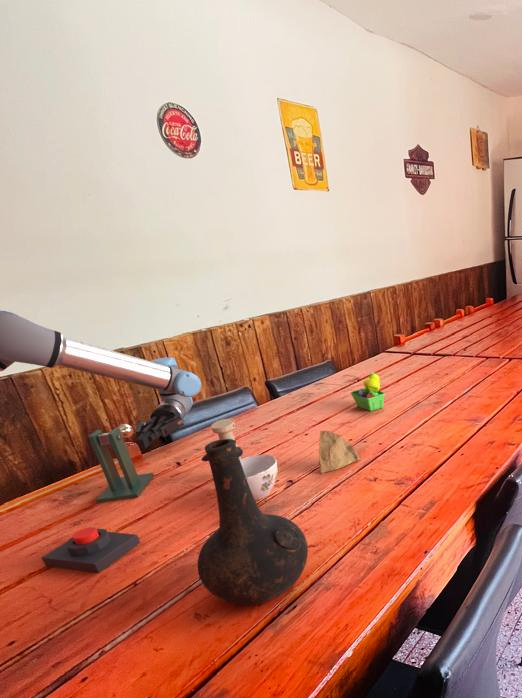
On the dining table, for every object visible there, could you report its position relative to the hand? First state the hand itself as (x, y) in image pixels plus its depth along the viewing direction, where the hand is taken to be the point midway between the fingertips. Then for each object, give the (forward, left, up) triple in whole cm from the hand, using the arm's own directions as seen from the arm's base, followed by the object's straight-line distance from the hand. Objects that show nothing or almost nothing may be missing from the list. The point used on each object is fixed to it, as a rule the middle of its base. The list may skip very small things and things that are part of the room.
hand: (141, 444), depth 140 cm
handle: (+32, -4, -6) cm, 33 cm away
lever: (+5, -10, +5) cm, 12 cm away
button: (+24, -39, -2) cm, 46 cm away
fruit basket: (+45, +51, -6) cm, 68 cm away
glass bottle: (+65, -42, -6) cm, 77 cm away
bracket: (+7, -14, -6) cm, 17 cm away
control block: (+24, -39, -6) cm, 46 cm away
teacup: (+43, -13, -6) cm, 45 cm away
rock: (+56, +6, -6) cm, 56 cm away
